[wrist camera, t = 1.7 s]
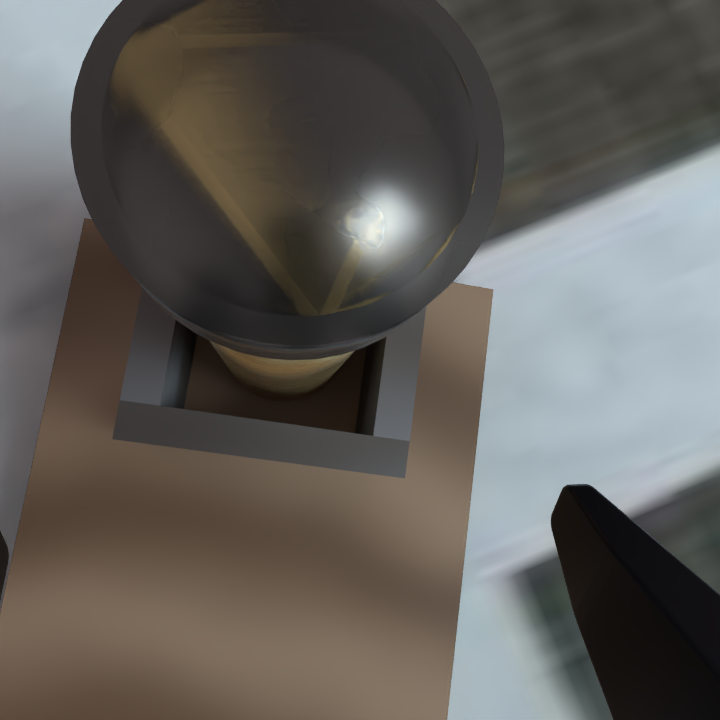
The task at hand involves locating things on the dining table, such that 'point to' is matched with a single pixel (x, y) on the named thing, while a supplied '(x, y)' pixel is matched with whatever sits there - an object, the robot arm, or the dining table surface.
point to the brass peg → (288, 170)
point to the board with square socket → (241, 522)
